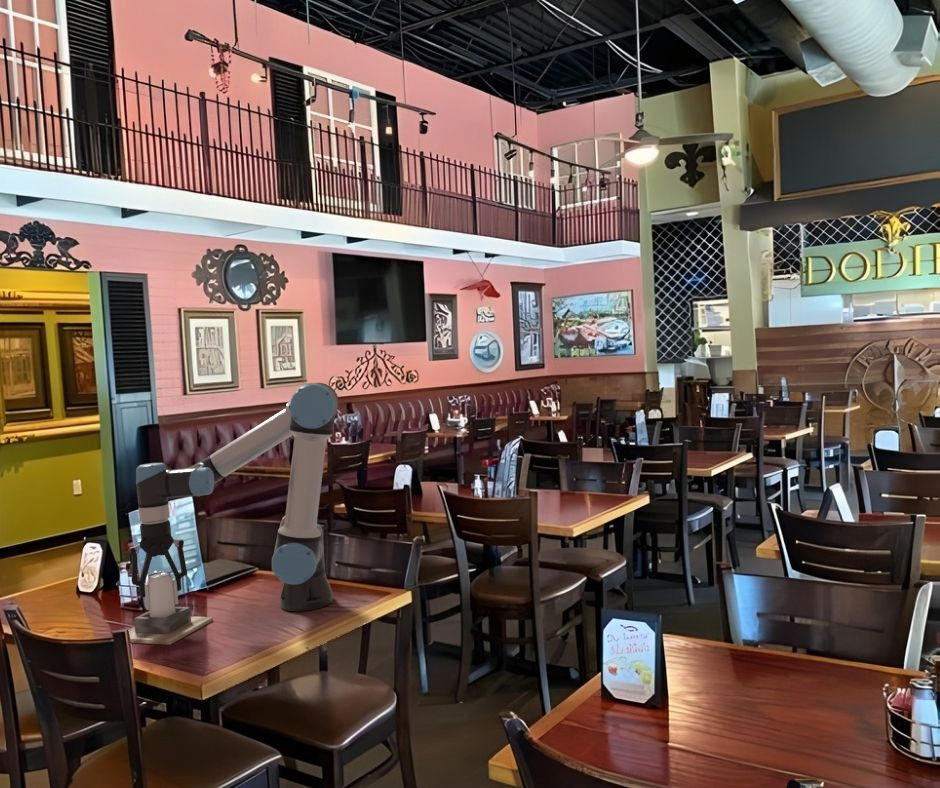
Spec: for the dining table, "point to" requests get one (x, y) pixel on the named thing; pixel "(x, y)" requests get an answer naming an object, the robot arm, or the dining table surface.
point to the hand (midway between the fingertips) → (162, 605)
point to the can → (161, 595)
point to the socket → (166, 627)
